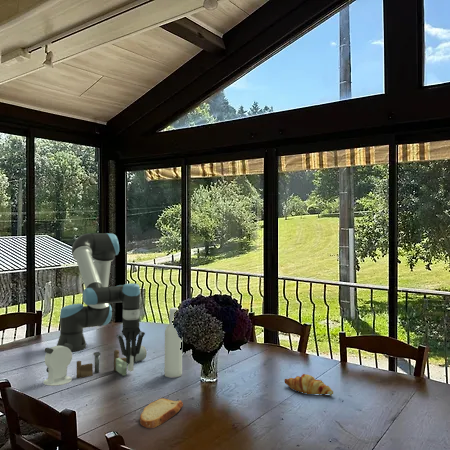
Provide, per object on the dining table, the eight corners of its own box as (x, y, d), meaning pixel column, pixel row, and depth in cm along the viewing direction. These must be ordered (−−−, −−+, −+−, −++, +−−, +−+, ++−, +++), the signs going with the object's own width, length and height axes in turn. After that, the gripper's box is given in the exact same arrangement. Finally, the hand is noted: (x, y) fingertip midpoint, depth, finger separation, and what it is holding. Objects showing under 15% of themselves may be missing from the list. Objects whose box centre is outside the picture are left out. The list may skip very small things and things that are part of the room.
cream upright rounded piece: (62, 374, 199) (63, 341, 199) (78, 379, 193) (78, 345, 193) (38, 382, 190) (38, 346, 190) (53, 387, 183) (54, 351, 183)
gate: (115, 370, 203) (115, 358, 203) (119, 369, 205) (119, 357, 204) (122, 375, 197) (122, 363, 197) (126, 374, 198) (126, 362, 198)
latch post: (93, 372, 202) (93, 352, 202) (98, 371, 204) (98, 351, 204) (95, 373, 200) (95, 353, 200) (100, 372, 202) (100, 353, 202)
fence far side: (75, 377, 196) (76, 361, 196) (91, 374, 200) (91, 358, 200) (77, 378, 194) (77, 362, 194) (92, 375, 198) (92, 359, 198)
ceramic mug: (147, 360, 220) (147, 345, 220) (133, 364, 214) (133, 348, 214) (135, 356, 227) (135, 341, 227) (121, 360, 221) (121, 344, 221)
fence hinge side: (112, 370, 206) (113, 349, 206) (124, 367, 209) (124, 347, 209) (114, 371, 204) (114, 350, 204) (126, 369, 207) (126, 348, 207)
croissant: (335, 403, 178) (338, 382, 181) (328, 398, 170) (332, 377, 173) (286, 391, 189) (290, 372, 192) (278, 386, 182) (282, 367, 185)
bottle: (166, 371, 204) (166, 306, 204) (183, 372, 204) (183, 306, 204) (163, 377, 196) (163, 309, 196) (180, 378, 196) (181, 310, 196)
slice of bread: (144, 430, 146) (144, 419, 146) (131, 409, 163) (131, 399, 163) (194, 421, 154) (195, 410, 154) (178, 402, 170) (178, 392, 170)
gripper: (120, 321, 194) (120, 375, 194) (147, 318, 202) (147, 369, 202) (114, 318, 200) (113, 370, 200) (140, 315, 208) (140, 365, 208)
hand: (130, 370), depth 201 cm, fingers closed
